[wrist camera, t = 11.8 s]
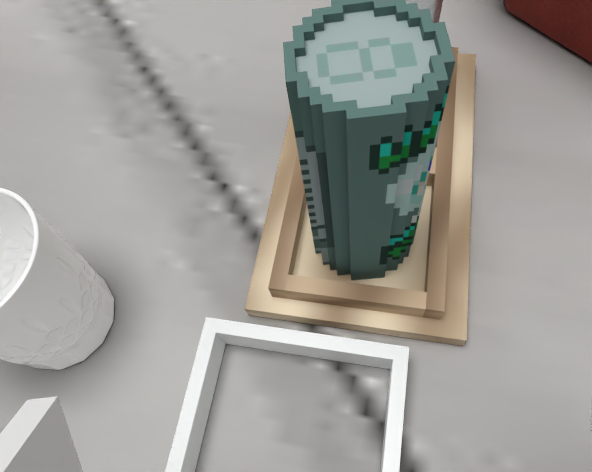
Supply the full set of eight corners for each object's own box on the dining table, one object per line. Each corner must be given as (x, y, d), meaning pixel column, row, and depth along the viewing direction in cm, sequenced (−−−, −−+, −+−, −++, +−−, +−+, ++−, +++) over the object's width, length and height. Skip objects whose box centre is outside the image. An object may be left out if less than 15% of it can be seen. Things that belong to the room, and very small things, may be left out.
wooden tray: (248, 315, 31) (239, 300, 29) (307, 58, 41) (304, 31, 38) (462, 345, 29) (472, 333, 27) (472, 66, 38) (480, 38, 36)
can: (418, 274, 30) (467, 105, 17) (318, 283, 30) (288, 125, 17) (402, 189, 33) (434, -15, 20) (311, 199, 33) (280, 6, 20)
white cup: (148, 296, 33) (71, 224, 24) (68, 404, 30) (-52, 369, 21) (63, 245, 35) (-36, 164, 26) (-17, 342, 33) (-157, 287, 24)
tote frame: (162, 542, 26) (144, 547, 24) (216, 329, 31) (206, 317, 29) (385, 594, 24) (388, 605, 22) (405, 357, 29) (409, 347, 27)
